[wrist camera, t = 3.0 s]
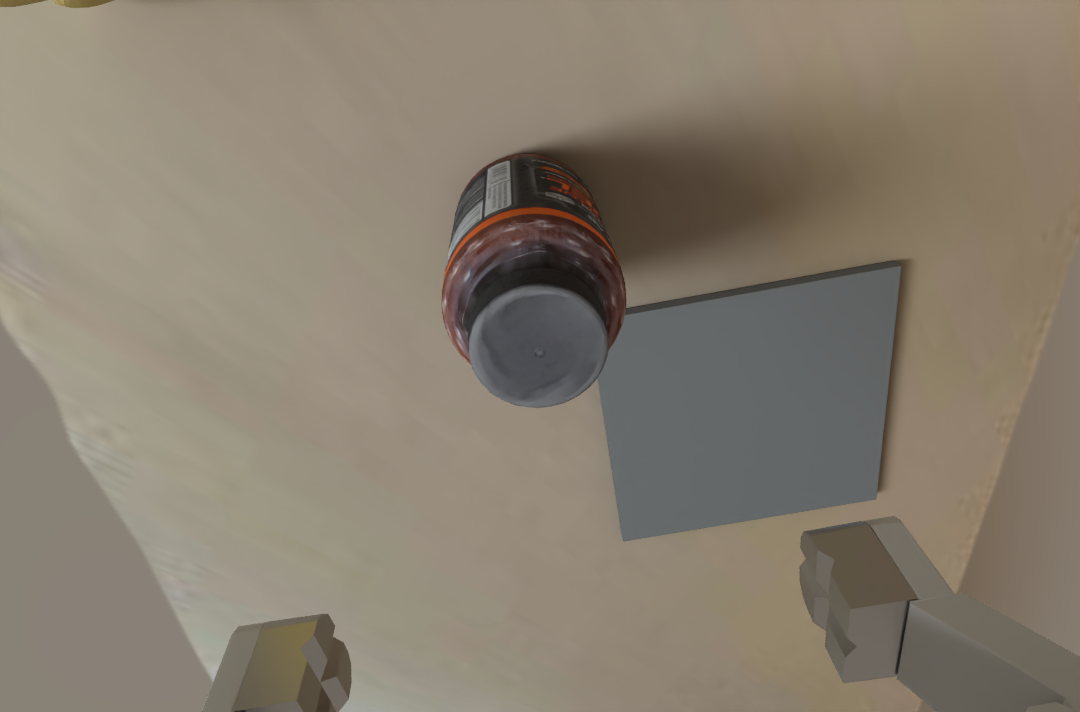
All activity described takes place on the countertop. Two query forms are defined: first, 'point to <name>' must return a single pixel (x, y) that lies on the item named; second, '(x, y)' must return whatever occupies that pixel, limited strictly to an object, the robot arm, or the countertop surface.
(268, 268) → the countertop surface
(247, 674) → the robot arm
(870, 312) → the mat
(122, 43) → the countertop surface
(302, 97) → the countertop surface
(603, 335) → the supplement bottle
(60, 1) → the cheese
